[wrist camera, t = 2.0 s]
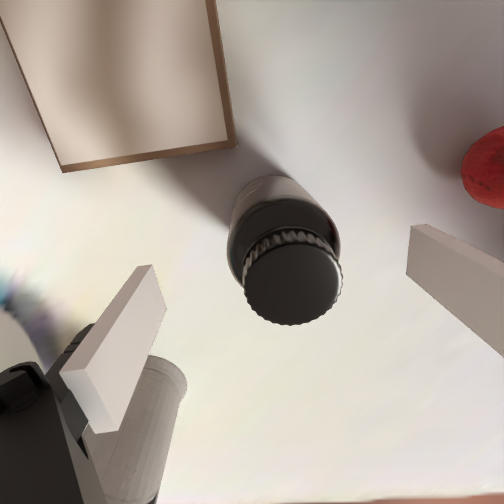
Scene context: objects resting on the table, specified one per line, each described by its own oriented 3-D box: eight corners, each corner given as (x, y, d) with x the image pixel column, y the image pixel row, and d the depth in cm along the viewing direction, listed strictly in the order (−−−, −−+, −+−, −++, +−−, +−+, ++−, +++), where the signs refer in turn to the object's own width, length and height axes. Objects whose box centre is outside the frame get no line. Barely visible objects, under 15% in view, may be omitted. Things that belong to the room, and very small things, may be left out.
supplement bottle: (232, 172, 22) (221, 210, 11) (315, 175, 23) (383, 216, 12) (231, 249, 25) (221, 341, 14) (305, 251, 25) (352, 343, 14)
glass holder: (200, 374, 31) (167, 567, 17) (148, 443, 36) (88, 638, 22) (127, 343, 29) (23, 533, 15) (81, 420, 33) (-31, 620, 20)
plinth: (205, -66, 17) (195, -122, 13) (237, 144, 21) (236, 147, 18) (14, -33, 17) (-49, -78, 13) (88, 167, 22) (57, 174, 18)
